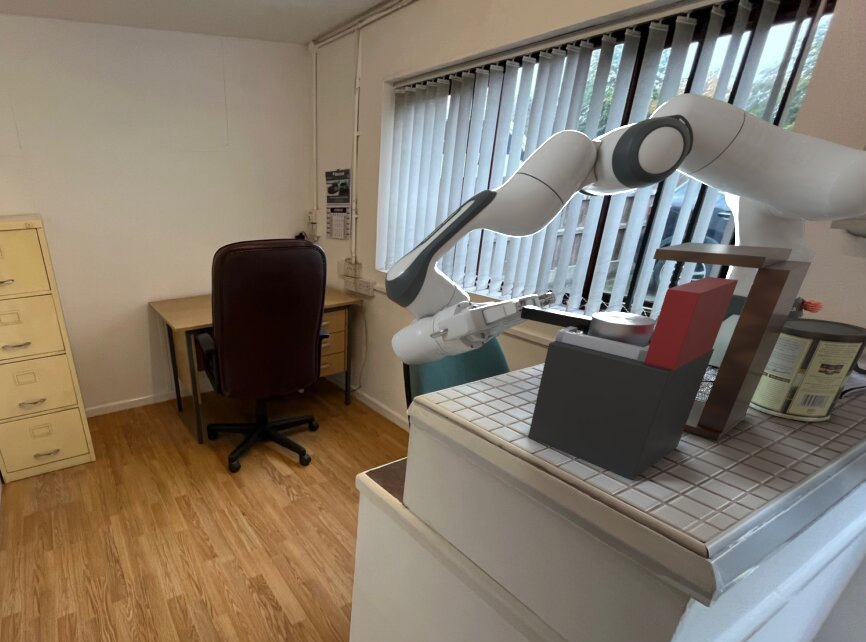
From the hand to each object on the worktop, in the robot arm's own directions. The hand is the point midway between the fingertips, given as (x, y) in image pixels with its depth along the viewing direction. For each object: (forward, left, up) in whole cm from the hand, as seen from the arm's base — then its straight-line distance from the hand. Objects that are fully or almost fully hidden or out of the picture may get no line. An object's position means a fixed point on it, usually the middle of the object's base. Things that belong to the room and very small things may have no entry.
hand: (536, 301), depth 71 cm
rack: (-25, -4, -19) cm, 32 cm away
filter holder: (-5, +5, -4) cm, 8 cm away
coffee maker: (-10, +9, -19) cm, 23 cm away
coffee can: (-43, -10, -19) cm, 48 cm away
